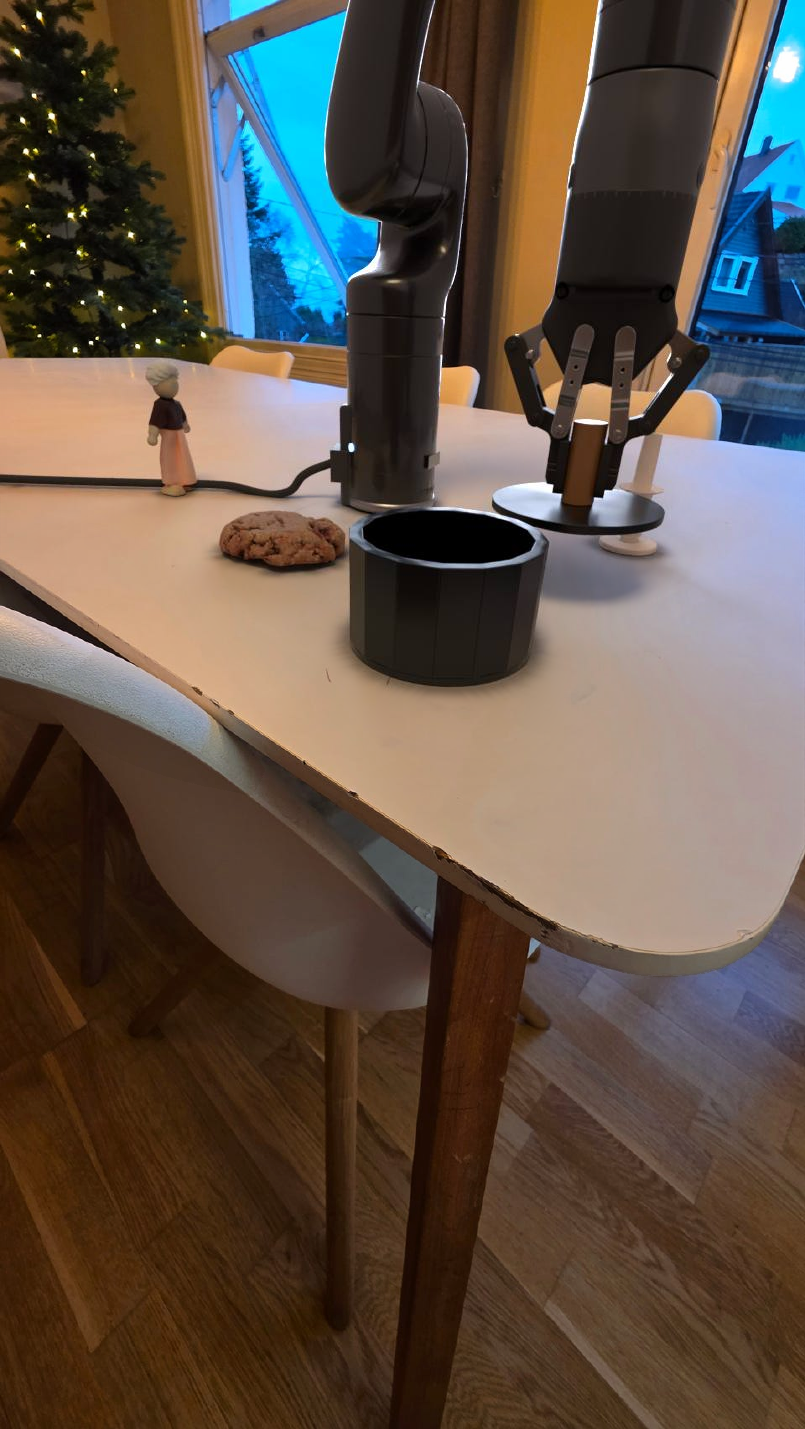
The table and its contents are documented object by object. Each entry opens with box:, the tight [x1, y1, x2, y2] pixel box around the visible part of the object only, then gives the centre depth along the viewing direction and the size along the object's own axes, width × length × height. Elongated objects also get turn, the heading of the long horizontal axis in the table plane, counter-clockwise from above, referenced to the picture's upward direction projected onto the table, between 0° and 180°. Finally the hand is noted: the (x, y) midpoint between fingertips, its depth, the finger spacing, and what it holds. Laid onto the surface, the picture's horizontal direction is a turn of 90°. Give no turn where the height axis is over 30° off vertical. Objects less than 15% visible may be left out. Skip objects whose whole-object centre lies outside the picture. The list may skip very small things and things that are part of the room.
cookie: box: [218, 510, 346, 567], centre depth 53 cm, size 10×11×3 cm
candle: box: [598, 429, 665, 557], centre depth 56 cm, size 5×5×10 cm
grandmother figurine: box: [145, 358, 198, 497], centre depth 66 cm, size 8×4×13 cm, turn 179°
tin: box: [348, 506, 550, 687], centre depth 39 cm, size 12×12×7 cm
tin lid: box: [491, 418, 666, 537], centre depth 46 cm, size 13×13×7 cm
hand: (578, 492), depth 46 cm, fingers closed on tin lid, 2 cm apart
